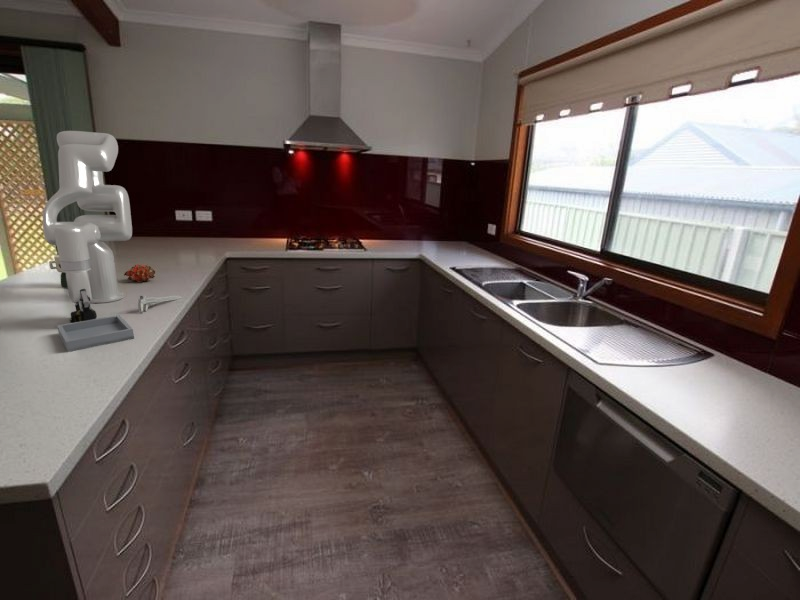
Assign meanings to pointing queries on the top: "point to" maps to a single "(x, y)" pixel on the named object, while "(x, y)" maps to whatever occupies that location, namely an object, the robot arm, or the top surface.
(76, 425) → the top surface
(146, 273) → the dragon fruit
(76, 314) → the tape measure
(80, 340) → the parts tray
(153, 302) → the caliper
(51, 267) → the character mug
